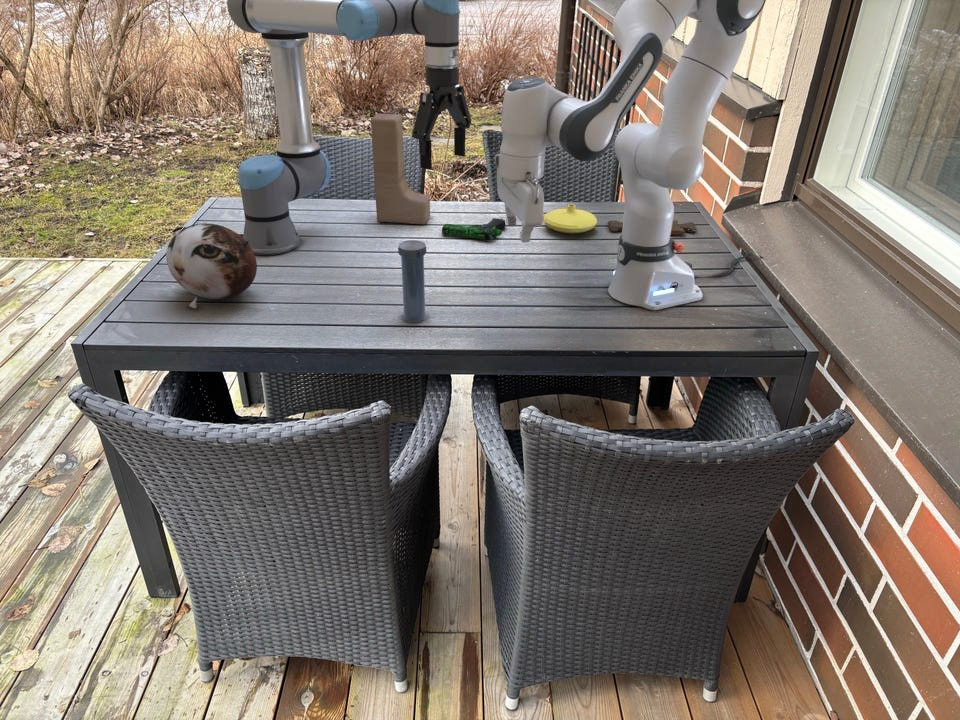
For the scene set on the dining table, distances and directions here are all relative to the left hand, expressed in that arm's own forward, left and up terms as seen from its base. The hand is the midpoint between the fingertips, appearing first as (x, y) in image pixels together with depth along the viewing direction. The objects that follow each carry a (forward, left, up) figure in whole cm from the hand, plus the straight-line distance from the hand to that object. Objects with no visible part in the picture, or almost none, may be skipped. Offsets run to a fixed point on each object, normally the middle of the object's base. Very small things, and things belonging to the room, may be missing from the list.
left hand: (443, 161), depth 169 cm
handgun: (-8, +28, -28) cm, 40 cm away
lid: (+10, -25, -11) cm, 29 cm away
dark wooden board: (+33, +60, -28) cm, 74 cm away
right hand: (+30, -15, -7) cm, 34 cm away
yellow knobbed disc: (+12, +46, -28) cm, 55 cm away
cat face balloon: (-35, -43, -28) cm, 62 cm away
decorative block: (-32, +24, -28) cm, 49 cm away
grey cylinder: (+10, -25, -28) cm, 39 cm away
